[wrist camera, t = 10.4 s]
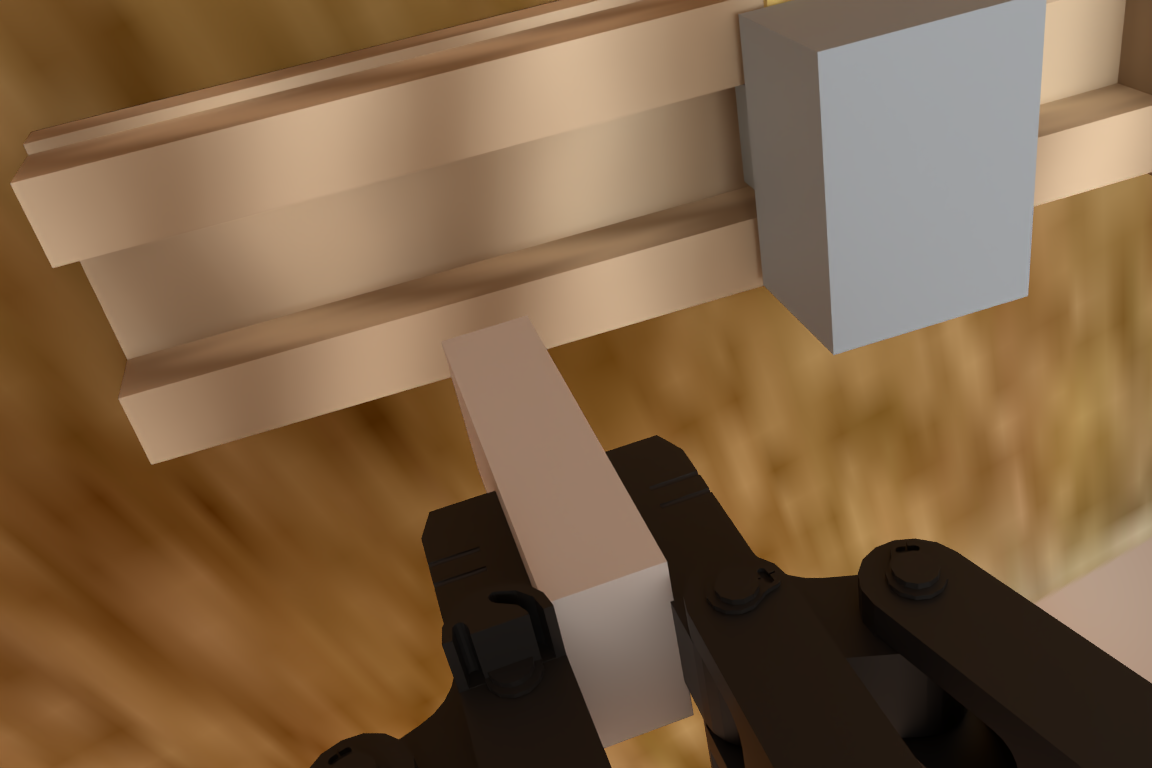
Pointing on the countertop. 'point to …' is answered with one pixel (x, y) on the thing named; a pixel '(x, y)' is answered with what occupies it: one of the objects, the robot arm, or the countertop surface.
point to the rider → (891, 158)
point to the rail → (461, 199)
